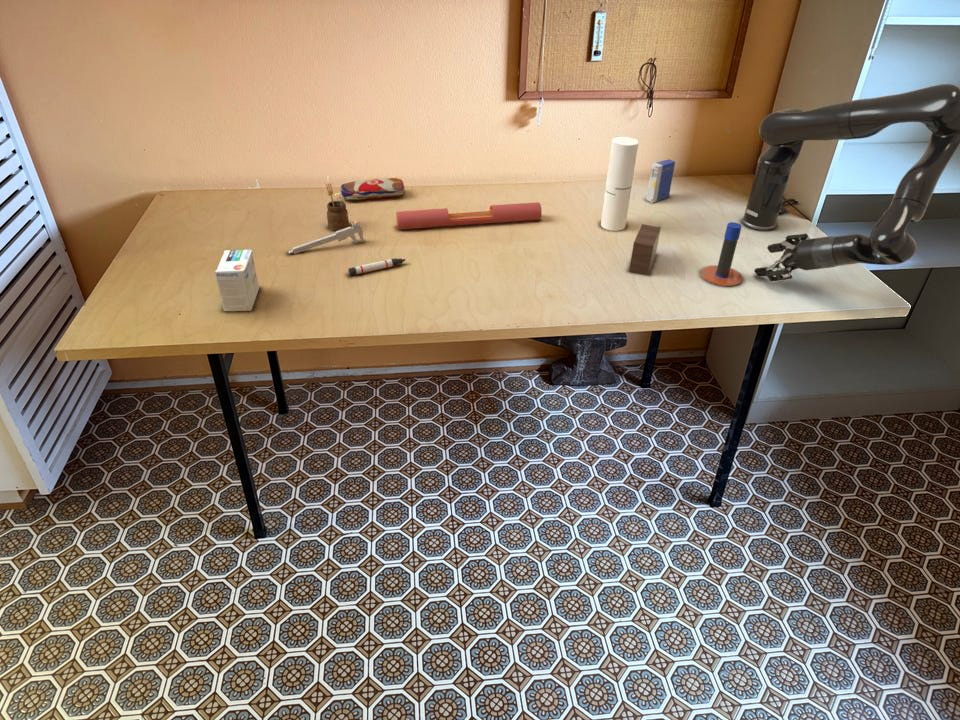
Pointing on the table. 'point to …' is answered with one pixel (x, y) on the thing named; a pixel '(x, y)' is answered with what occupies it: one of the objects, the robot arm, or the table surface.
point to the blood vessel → (468, 216)
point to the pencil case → (372, 188)
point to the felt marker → (728, 249)
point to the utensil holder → (336, 213)
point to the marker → (375, 266)
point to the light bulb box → (237, 280)
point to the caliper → (331, 238)
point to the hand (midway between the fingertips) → (762, 260)
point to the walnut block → (644, 249)
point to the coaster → (711, 277)
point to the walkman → (660, 180)
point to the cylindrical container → (619, 182)
